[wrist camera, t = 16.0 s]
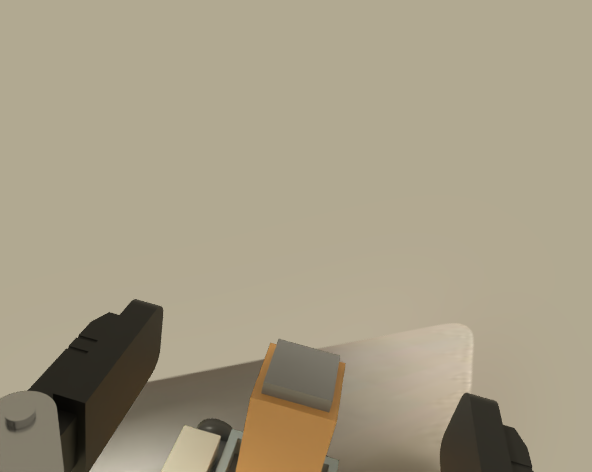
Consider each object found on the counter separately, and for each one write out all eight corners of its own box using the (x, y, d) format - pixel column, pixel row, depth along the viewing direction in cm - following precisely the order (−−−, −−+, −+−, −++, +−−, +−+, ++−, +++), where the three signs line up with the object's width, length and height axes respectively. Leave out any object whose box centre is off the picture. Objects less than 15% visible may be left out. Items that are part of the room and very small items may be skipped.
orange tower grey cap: (295, 553, 31) (340, 410, 25) (223, 531, 31) (252, 385, 26) (307, 488, 35) (348, 352, 29) (243, 469, 35) (272, 331, 30)
